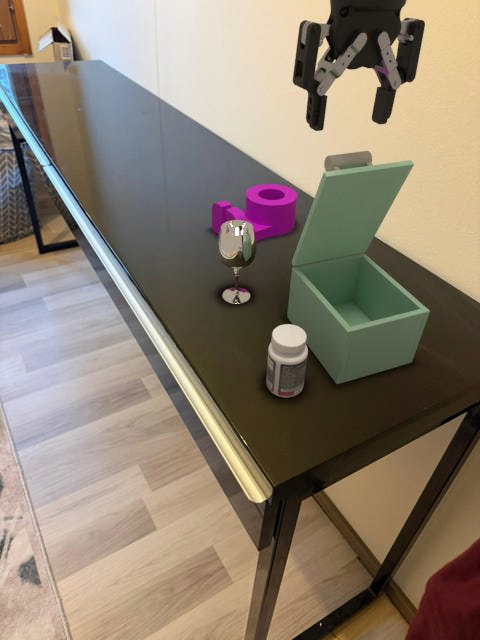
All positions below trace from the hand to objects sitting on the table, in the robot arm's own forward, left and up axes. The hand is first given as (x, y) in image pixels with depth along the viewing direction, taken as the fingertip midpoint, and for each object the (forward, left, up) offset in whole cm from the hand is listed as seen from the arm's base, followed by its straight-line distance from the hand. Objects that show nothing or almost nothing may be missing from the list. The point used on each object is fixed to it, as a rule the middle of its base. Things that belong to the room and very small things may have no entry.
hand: (348, 125), depth 53 cm
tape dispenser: (+27, -1, -27) cm, 38 cm away
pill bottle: (-13, +12, -27) cm, 32 cm away
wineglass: (+7, +11, -27) cm, 30 cm away
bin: (-8, 0, -27) cm, 28 cm away
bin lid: (-3, 0, -10) cm, 11 cm away
